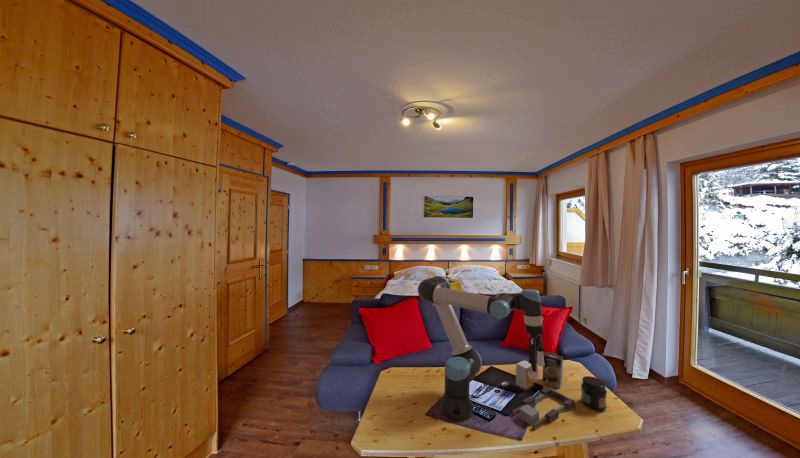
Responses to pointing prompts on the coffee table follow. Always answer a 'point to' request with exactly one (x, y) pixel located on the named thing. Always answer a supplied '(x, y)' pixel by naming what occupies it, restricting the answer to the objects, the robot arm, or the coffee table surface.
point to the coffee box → (553, 369)
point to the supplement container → (593, 393)
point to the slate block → (529, 414)
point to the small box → (524, 374)
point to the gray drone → (550, 415)
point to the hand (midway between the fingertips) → (538, 371)
